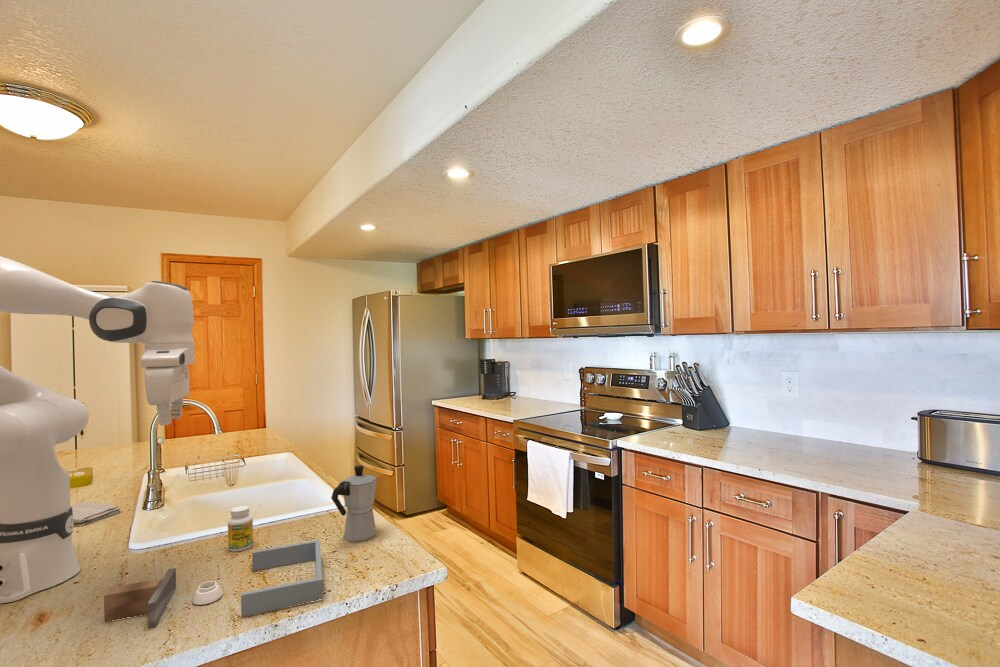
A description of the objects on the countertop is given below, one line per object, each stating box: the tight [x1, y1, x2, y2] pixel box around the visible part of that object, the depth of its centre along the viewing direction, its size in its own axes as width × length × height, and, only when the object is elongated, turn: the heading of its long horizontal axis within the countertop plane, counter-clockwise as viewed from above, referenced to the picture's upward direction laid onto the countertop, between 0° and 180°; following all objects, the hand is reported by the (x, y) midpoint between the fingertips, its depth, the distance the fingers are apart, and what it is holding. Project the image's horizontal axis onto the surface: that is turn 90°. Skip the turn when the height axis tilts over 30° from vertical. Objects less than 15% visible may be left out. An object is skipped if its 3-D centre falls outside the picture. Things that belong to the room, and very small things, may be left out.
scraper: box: [103, 567, 177, 630], centre depth 89 cm, size 9×14×5 cm, turn 22°
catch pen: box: [240, 539, 324, 618], centre depth 99 cm, size 14×20×4 cm
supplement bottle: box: [227, 505, 254, 553], centre depth 117 cm, size 5×5×10 cm
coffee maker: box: [331, 464, 378, 544], centre depth 122 cm, size 15×9×18 cm, turn 149°
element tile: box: [66, 466, 94, 490], centre depth 173 cm, size 15×15×5 cm
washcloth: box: [70, 501, 122, 528], centre depth 140 cm, size 12×18×3 cm, turn 78°
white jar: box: [191, 580, 224, 606], centre depth 93 cm, size 5×3×5 cm
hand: (171, 421), depth 101 cm, fingers open, 8 cm apart
